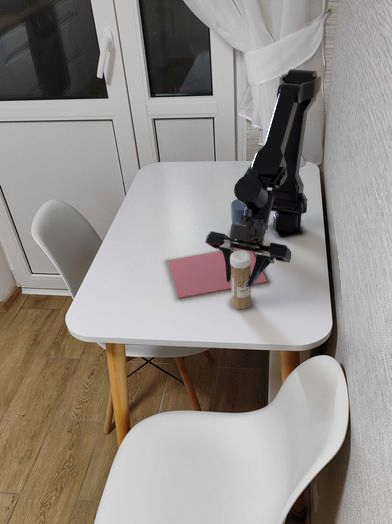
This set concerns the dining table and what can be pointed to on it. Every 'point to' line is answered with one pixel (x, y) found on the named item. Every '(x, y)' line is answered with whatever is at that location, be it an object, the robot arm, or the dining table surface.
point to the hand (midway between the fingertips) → (238, 284)
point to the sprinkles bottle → (240, 279)
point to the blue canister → (237, 210)
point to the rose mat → (204, 274)
